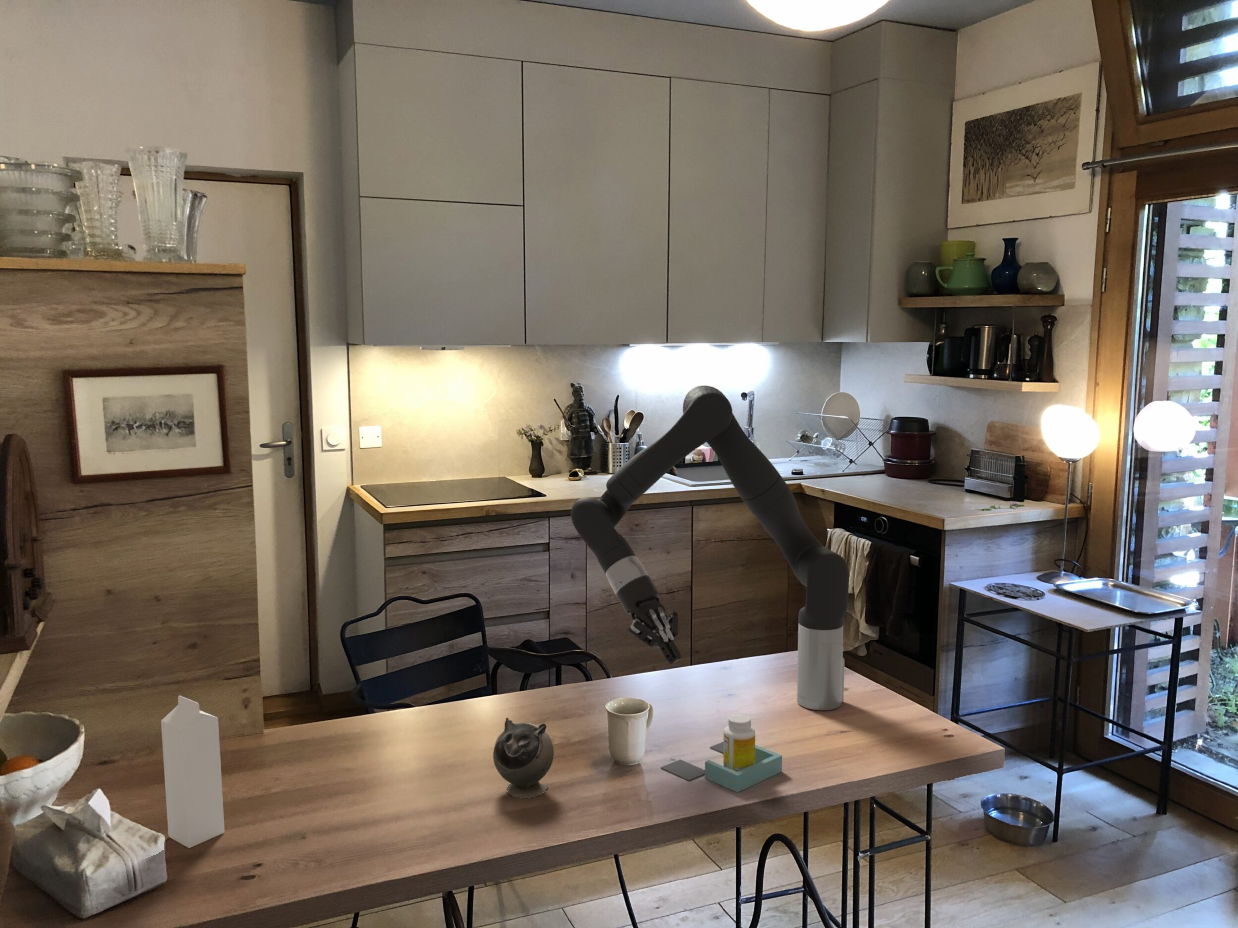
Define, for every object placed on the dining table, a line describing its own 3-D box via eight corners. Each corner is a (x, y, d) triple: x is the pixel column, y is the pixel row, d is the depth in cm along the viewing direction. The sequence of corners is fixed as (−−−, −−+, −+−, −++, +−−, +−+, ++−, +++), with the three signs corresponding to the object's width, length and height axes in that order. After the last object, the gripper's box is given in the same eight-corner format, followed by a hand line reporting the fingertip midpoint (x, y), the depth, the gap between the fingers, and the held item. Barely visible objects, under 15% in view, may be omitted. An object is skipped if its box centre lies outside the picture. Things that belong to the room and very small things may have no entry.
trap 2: (727, 740, 186) (727, 739, 186) (755, 751, 181) (755, 750, 181) (709, 747, 183) (709, 746, 183) (738, 759, 177) (738, 758, 177)
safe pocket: (749, 758, 178) (749, 742, 178) (781, 771, 172) (782, 755, 172) (704, 777, 170) (705, 761, 170) (737, 792, 164) (737, 775, 164)
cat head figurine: (490, 804, 161) (552, 802, 161) (487, 735, 160) (550, 733, 159) (499, 777, 171) (557, 775, 171) (495, 712, 170) (554, 710, 169)
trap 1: (680, 760, 177) (680, 759, 177) (708, 772, 172) (708, 771, 172) (660, 768, 174) (660, 767, 174) (688, 781, 169) (688, 779, 169)
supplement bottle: (761, 773, 172) (761, 717, 171) (742, 783, 168) (742, 726, 167) (735, 763, 176) (736, 709, 174) (716, 773, 172) (717, 718, 170)
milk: (204, 822, 155) (196, 689, 153) (225, 833, 152) (218, 697, 149) (167, 837, 150) (159, 700, 148) (188, 849, 147) (180, 708, 144)
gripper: (620, 578, 183) (665, 658, 176) (664, 569, 193) (709, 644, 186) (598, 599, 187) (641, 678, 180) (643, 590, 197) (686, 664, 190)
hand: (676, 660), depth 183 cm, fingers closed
